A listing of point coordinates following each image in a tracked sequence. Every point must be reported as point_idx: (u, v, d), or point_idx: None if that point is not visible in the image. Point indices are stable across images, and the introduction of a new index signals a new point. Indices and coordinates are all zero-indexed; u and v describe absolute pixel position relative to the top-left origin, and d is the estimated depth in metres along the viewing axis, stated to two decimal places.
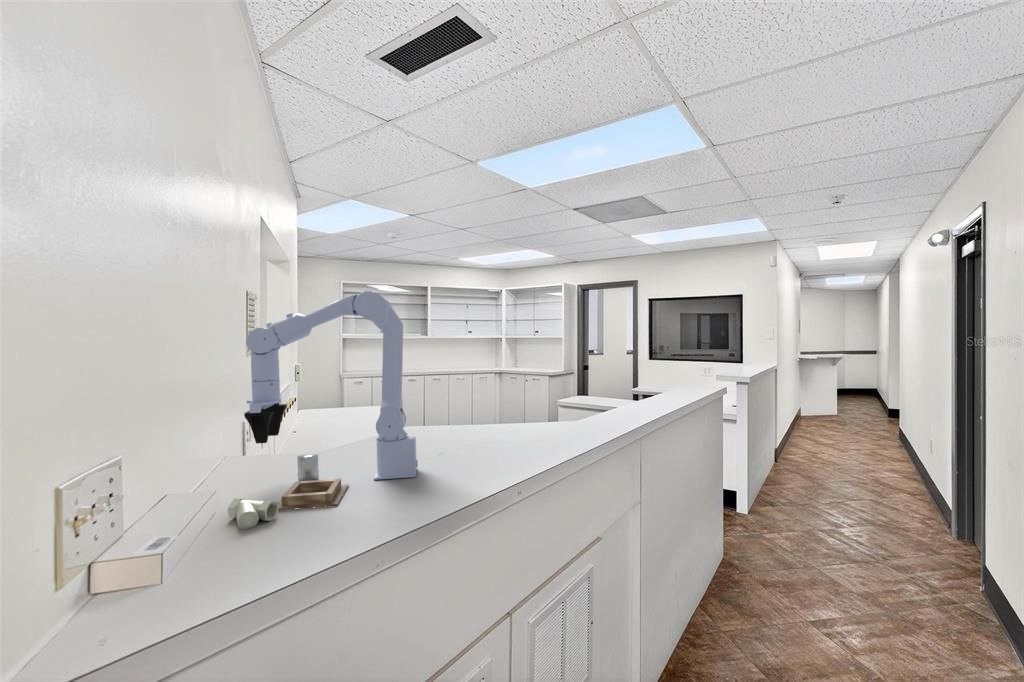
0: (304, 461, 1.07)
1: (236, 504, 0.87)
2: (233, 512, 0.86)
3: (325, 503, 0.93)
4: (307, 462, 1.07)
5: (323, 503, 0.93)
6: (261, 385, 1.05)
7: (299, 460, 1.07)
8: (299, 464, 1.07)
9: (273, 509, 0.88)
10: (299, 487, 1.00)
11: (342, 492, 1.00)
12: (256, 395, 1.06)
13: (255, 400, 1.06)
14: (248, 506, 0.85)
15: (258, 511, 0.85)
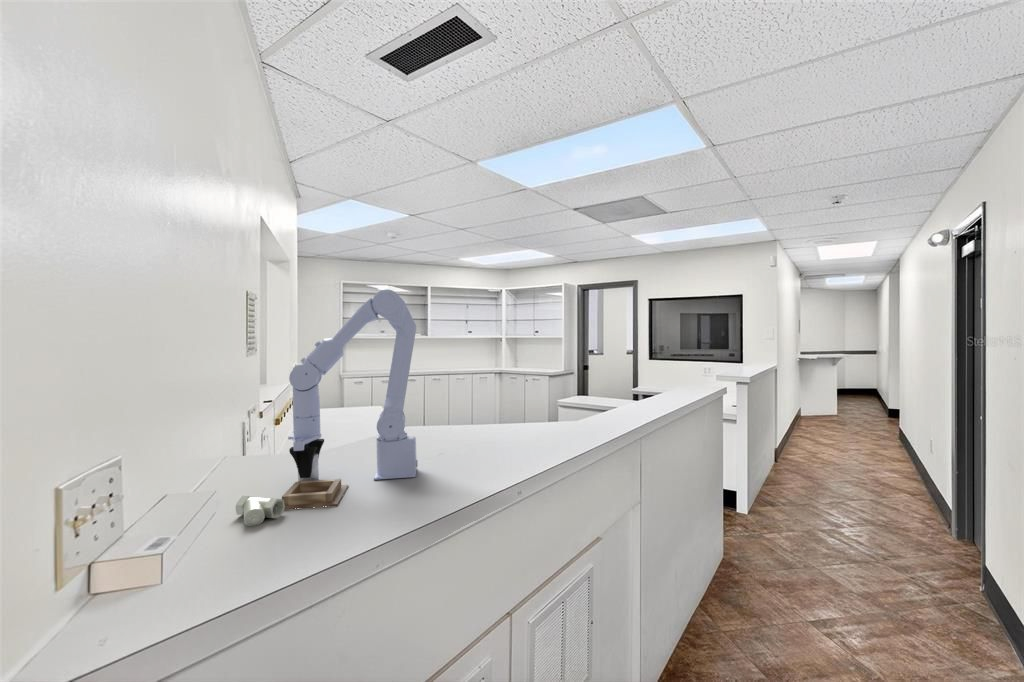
0: None
1: (244, 501, 0.88)
2: (241, 509, 0.88)
3: (325, 503, 0.93)
4: None
5: (323, 503, 0.93)
6: (303, 421, 1.06)
7: None
8: None
9: (280, 507, 0.89)
10: (299, 487, 1.00)
11: (342, 492, 1.00)
12: (298, 431, 1.06)
13: (297, 436, 1.06)
14: (254, 503, 0.87)
15: (264, 509, 0.86)
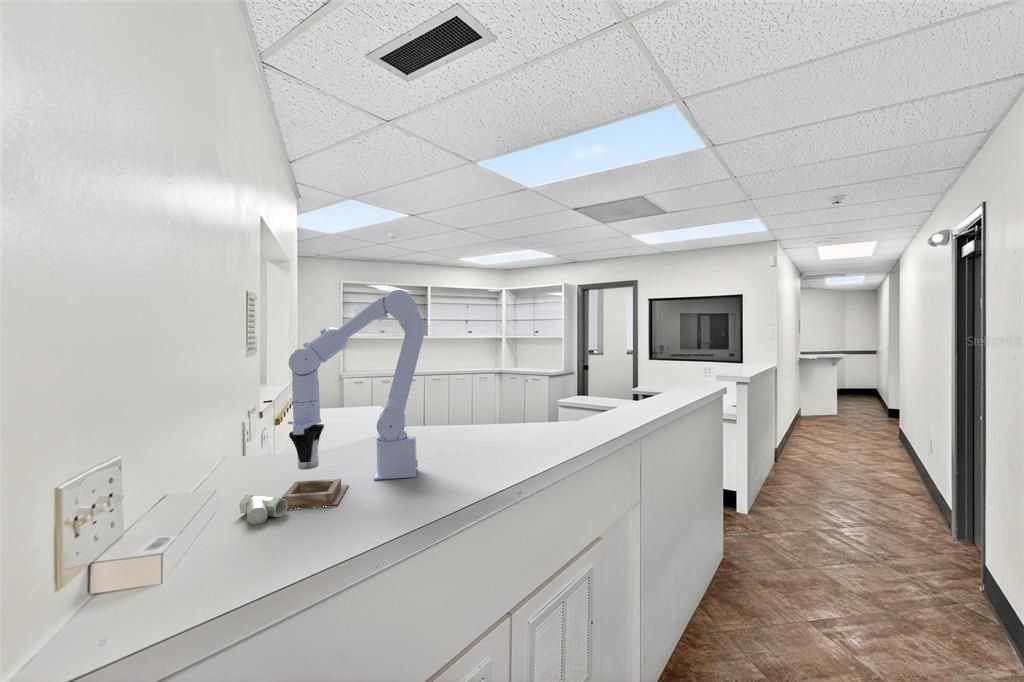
0: None
1: (247, 500, 0.89)
2: (244, 508, 0.88)
3: (325, 503, 0.93)
4: None
5: (323, 503, 0.93)
6: (303, 406, 1.06)
7: None
8: None
9: (283, 506, 0.90)
10: (299, 487, 1.00)
11: (342, 492, 1.00)
12: (297, 416, 1.06)
13: (297, 421, 1.06)
14: (258, 502, 0.87)
15: (267, 507, 0.87)
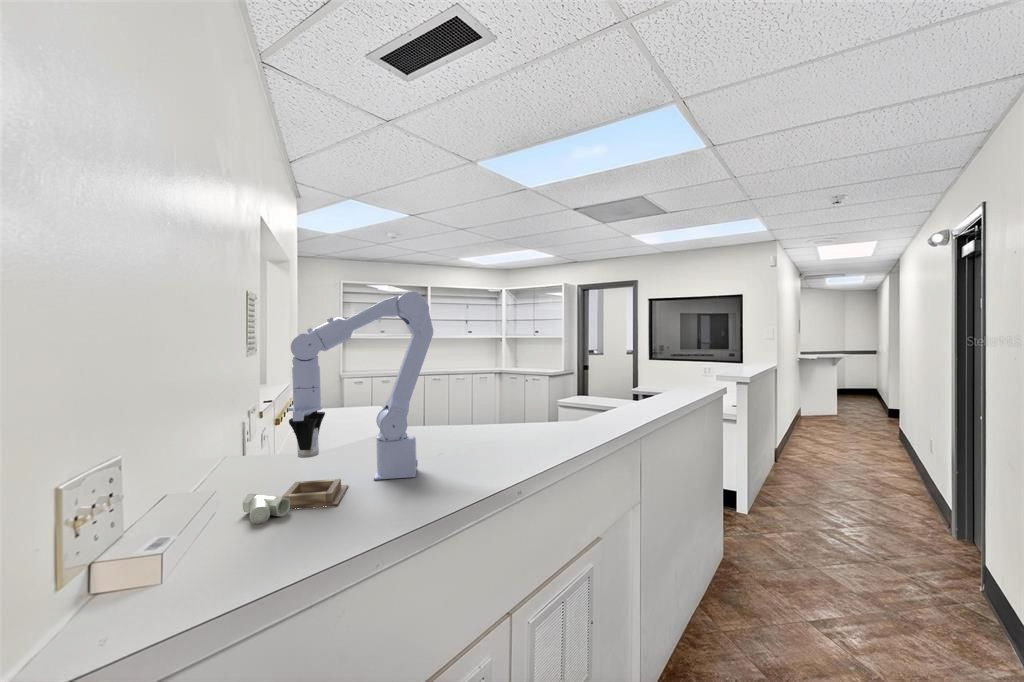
0: None
1: (250, 499, 0.89)
2: (247, 507, 0.89)
3: (325, 503, 0.93)
4: None
5: (323, 503, 0.93)
6: (303, 392, 1.03)
7: None
8: None
9: (286, 505, 0.90)
10: (299, 487, 1.00)
11: (342, 492, 1.00)
12: (297, 402, 1.04)
13: (297, 407, 1.04)
14: (260, 501, 0.88)
15: (270, 506, 0.87)
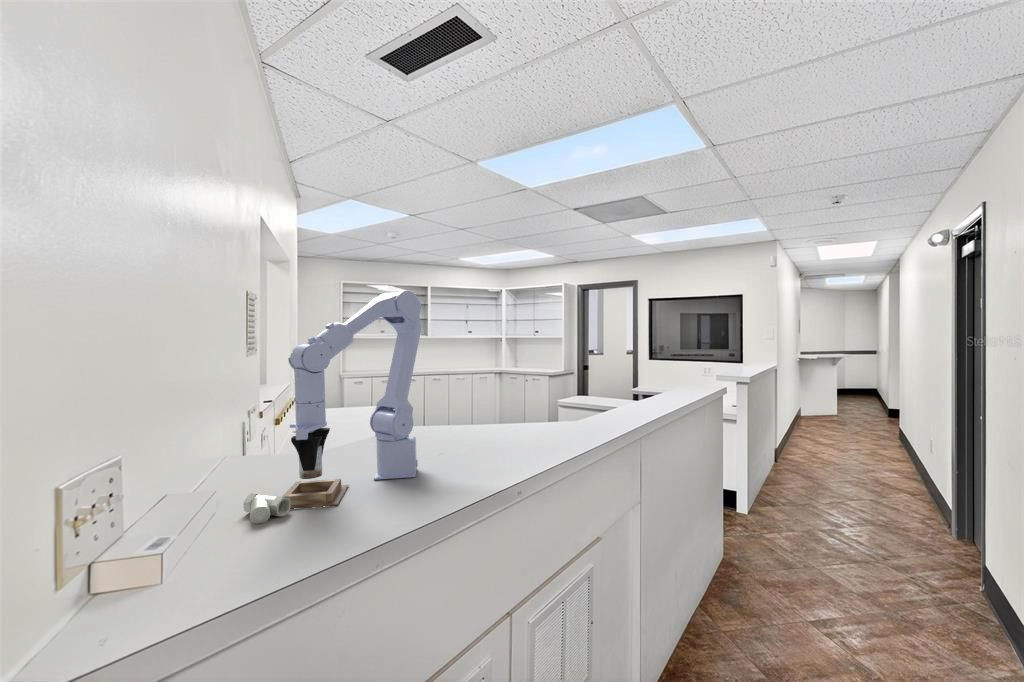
0: None
1: (251, 499, 0.89)
2: (248, 507, 0.89)
3: (325, 503, 0.94)
4: None
5: (323, 503, 0.93)
6: (306, 408, 0.95)
7: None
8: None
9: (286, 505, 0.90)
10: (299, 487, 1.00)
11: (342, 492, 1.00)
12: (300, 418, 0.95)
13: (300, 424, 0.95)
14: (261, 501, 0.88)
15: (270, 506, 0.87)
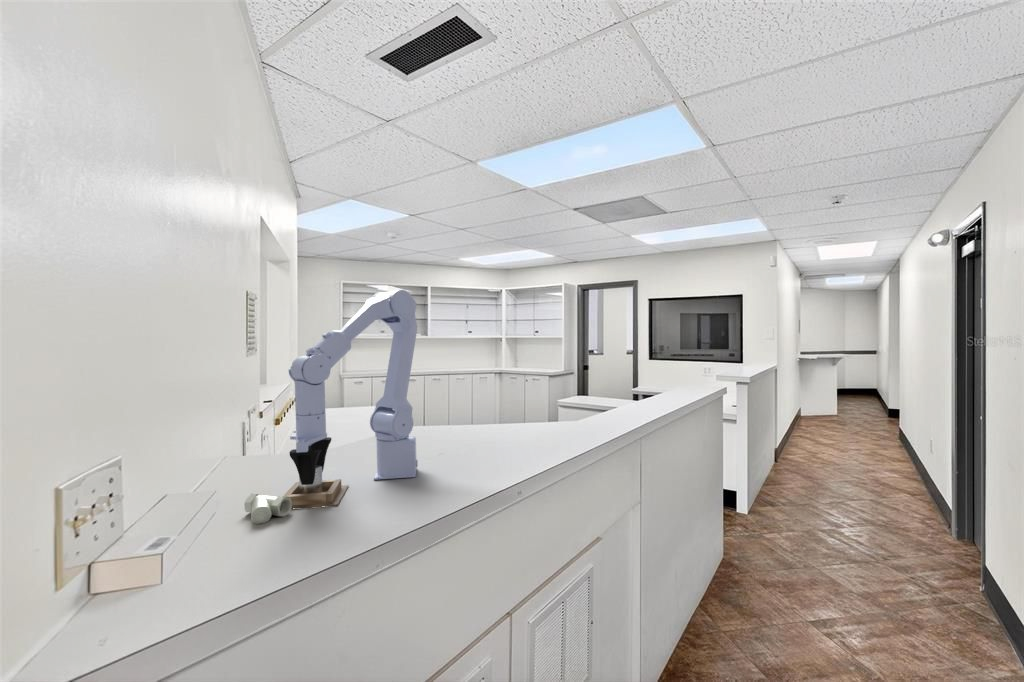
0: None
1: (252, 499, 0.89)
2: (249, 507, 0.89)
3: (325, 503, 0.94)
4: None
5: (323, 504, 0.93)
6: (307, 419, 0.95)
7: None
8: None
9: (287, 505, 0.90)
10: None
11: (342, 492, 1.00)
12: (301, 430, 0.95)
13: (300, 436, 0.95)
14: (262, 501, 0.88)
15: (272, 506, 0.87)
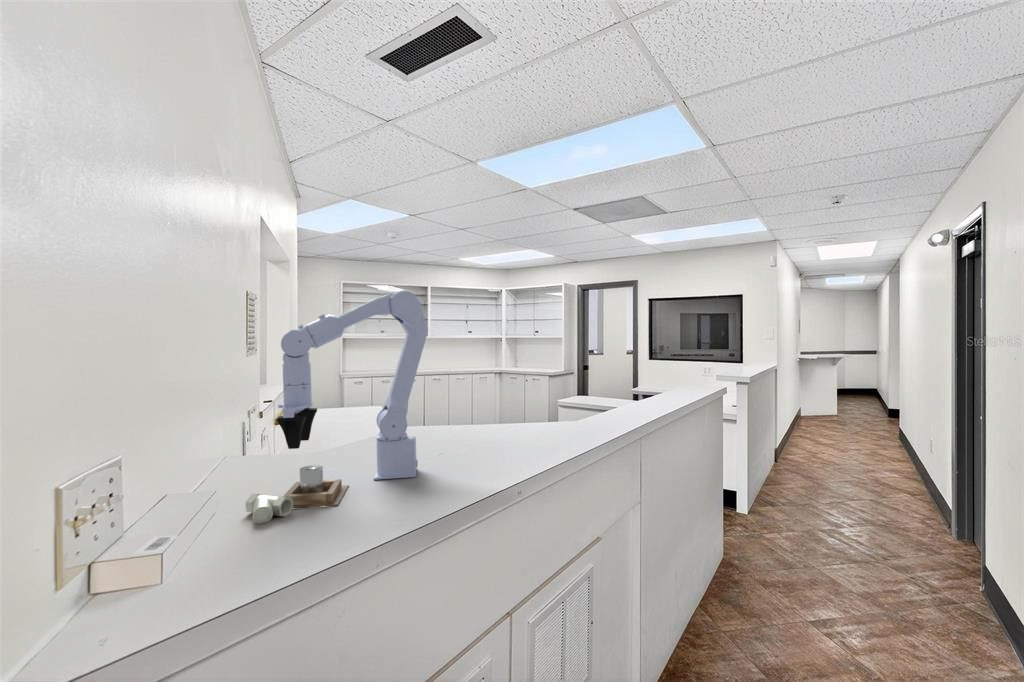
0: (306, 474, 0.95)
1: (253, 499, 0.89)
2: (250, 507, 0.89)
3: (326, 503, 0.94)
4: (310, 475, 0.96)
5: (323, 504, 0.93)
6: (293, 389, 1.03)
7: (301, 473, 0.96)
8: (301, 478, 0.96)
9: (288, 505, 0.90)
10: (299, 487, 1.00)
11: (342, 493, 1.00)
12: (288, 399, 1.03)
13: (287, 404, 1.03)
14: (263, 501, 0.88)
15: (273, 506, 0.87)
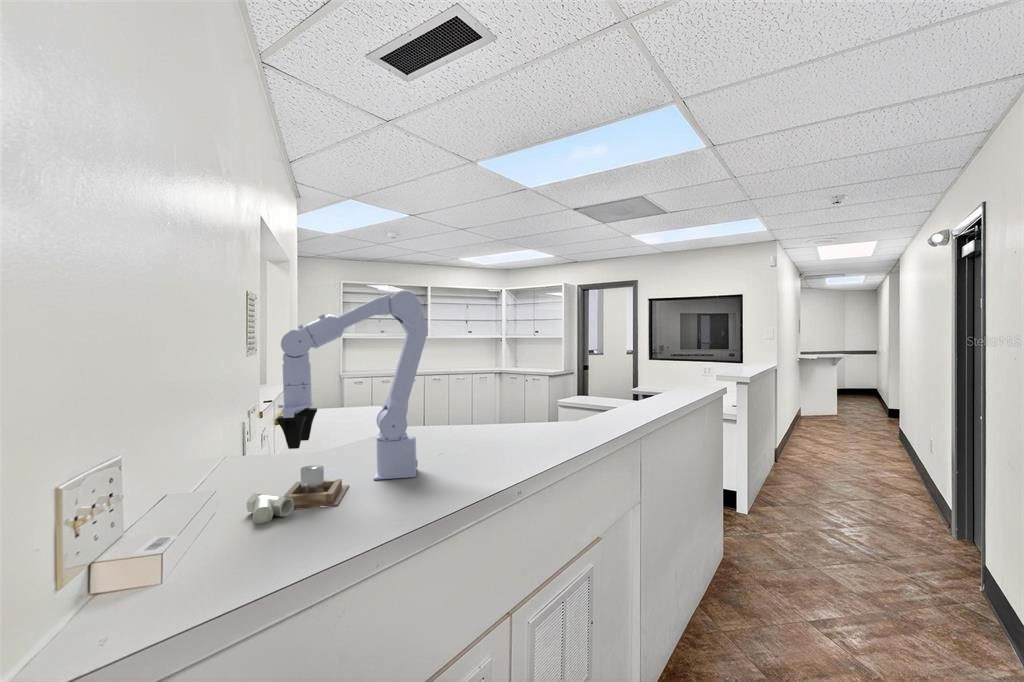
0: (307, 474, 0.96)
1: (254, 499, 0.89)
2: (251, 507, 0.89)
3: (326, 503, 0.94)
4: (310, 475, 0.96)
5: (324, 504, 0.93)
6: (293, 389, 1.03)
7: (302, 473, 0.96)
8: (302, 477, 0.96)
9: (289, 505, 0.90)
10: (300, 487, 1.01)
11: (343, 492, 1.00)
12: (288, 399, 1.03)
13: (287, 404, 1.03)
14: (264, 501, 0.88)
15: (273, 507, 0.87)
